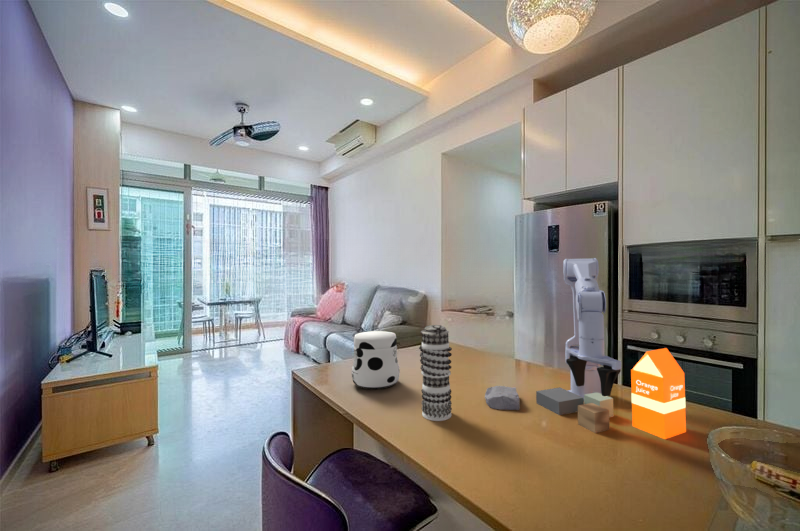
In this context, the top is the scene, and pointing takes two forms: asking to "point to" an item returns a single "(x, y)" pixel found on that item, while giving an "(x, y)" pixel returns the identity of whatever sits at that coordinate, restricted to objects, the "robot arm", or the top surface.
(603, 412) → the walnut block
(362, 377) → the milk container
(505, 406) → the stone block
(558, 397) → the charcoal block
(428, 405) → the decorative candle
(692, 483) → the top surface
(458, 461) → the top surface
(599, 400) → the sage block
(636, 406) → the orange juice
